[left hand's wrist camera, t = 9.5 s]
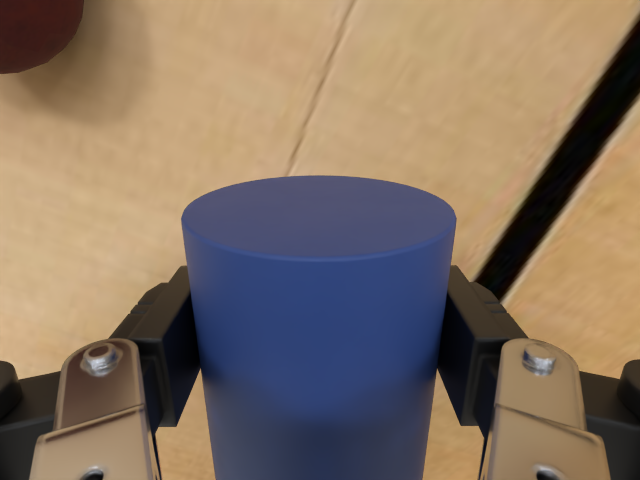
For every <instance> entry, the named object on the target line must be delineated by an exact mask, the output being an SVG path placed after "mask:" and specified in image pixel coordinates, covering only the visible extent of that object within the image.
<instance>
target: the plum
mask: <svg viewBox="0 0 640 480" xmlns="http://www.w3.org/2000/svg"><path fill="white" fill-rule="evenodd" d="M83 2H84V0H0V74H6V73H18V72H21V71H25V70H28V69H31V68H33V67H36V66H38V65H41V64H44V63H46V62H48V61H49V60H50V59H52V58H53V57H54V56H55V55H57V54H58V53H59V52H60V51H61V50H63V49H64V48H65V47H66V46H67V44H68V43H69V42H70V40H71V39H72V38H73V36H74V35H75V33H76V30H77V28H78V26H79V23H80V21H81V18H82V12H83Z"/></svg>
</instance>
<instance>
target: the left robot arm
mask: <svg viewBox="0 0 640 480" xmlns="http://www.w3.org/2000/svg"><path fill="white" fill-rule="evenodd" d="M200 368H201V365H200V358H199V350H198V343H197V335H196V328H195V320H194V313H193V305H192V298H191V290H190V283H189V275H188V268H187V266H181V267H180V268H179V269H178V270H177V272H176V273H175V274H174V276H173V277H172V278H171V280H170V281H169V282H168V283H160V284H159V285H157V286H155V287H154V288H152V289H151V290H149V291H147V292H146V293H145V294H144V296H143V297H142V298H141V299H140V301H139V302H138V305H135V307H134V308H133V309H132V310H131V313H130V314H128V315H127V316H126V318H125V319H124V320H123V321H122V323H121V324H120V325H119V326H118V328H117V329H116V330H115V331H114V332H113V334H112V335H111V336H110V337H109V339H106V340H101V341H97V342H94V343H91V344H89V345H86V346H84V347H82V348H80V349H79V350H77V351H76V352H74V353H73V354H71V355H70V356H69V357H68V358H67V359H66V360H65V362H64V363H63V365H62V368H61V371H59V372H54V373H50V374H45V375H40V376H35V377H30V378H25V379H20V380H18V377H17V374H16V371H15V368H14V366H13V365H12V364H10V363H8V362H5V361H0V480H163V478H162V471H161V465H160V458H159V451H158V445H157V440H156V435H155V433H156V431H157V429H158V427H176V426H177V424H178V421H179V419H180V417H181V414H182V412H183V409H184V407H185V404H186V402H187V400H188V397H189V395H190V392H191V390H192V388H193V385H194V383H195V380H196V378H197V375H198V373H199V371H200ZM437 368H438V371H439V373H440V376H441V378H442V381H443V383H444V386H445V388H446V391H447V393H448V396H449V398H450V401H451V403H452V405H453V408H454V410H455V413H456V415H457V418H458V420H459V423H460V425H461V426H479V428H480V430H481V432H482V435H483V437H484V440H483V445H482V451H481V458H480V465H479V471H478V478H477V480H640V360H632V361H629V362H628V363H626V364H625V366H624V368H623V371H622V374H621V377H620V379H616V378H611V377H606V376H601V375H596V374H591V373H586V372H582V371H579V369H578V365H577V363H576V362H575V360H574V359H573V358H572V357H571V356H570V355H569V354H567V353H566V352H564V351H563V350H561V349H560V348H558V347H556V346H554V345H551V344H549V343H546V342H543V341H539V340H534V339H529V338H528V337H527V336H526V334H525V333H524V332H523V331H522V329H521V328H520V327H519V326H518V324H517V323H516V322H515V321H514V319H513V318H512V317H511V316H510V314H509V313H507V311H506V309H505V308H504V307H503V306H502V305H501V304H499V301H498V300H497V298H496V297H495V296H494V295H493V293H492V292H491V291H489V290H488V289H486V288H485V287H483V286H481V285H480V284H478V283H476V282H469V281H468V280H467V279H466V277H465V276H464V275H463V273H462V272H461V270H460V269H459V268H458V267H457V266H456V265H451V266H450V273H449V281H448V288H447V296H446V304H445V311H444V319H443V326H442V334H441V342H440V349H439V357H438V364H437Z"/></svg>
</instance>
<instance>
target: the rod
mask: <svg viewBox="0 0 640 480" xmlns="http://www.w3.org/2000/svg"><path fill="white" fill-rule="evenodd" d="M181 222H182V230H183V238H184V245H185V253H186V260H187V268H188V275H189V283H190V290H191V298H192V305H193V313H194V320H195V328H196V335H197V343H198V350H199V358H200V365H201V373H202V380H203V388H204V395H205V403H206V410H207V418H208V425H209V433H210V440H211V448H212V455H213V463H214V470H215V478H216V480H422V478H423V470H424V463H425V455H426V448H427V440H428V432H429V425H430V417H431V410H432V402H433V395H434V387H435V379H436V372H437V364H438V357H439V349H440V342H441V334H442V326H443V319H444V311H445V304H446V296H447V288H448V281H449V273H450V266H451V258H452V251H453V243H454V235H455V228H456V215H455V213H454V210H453V209H452V208H451V206H450V205H449V204H448V203H446V202H445V201H444V200H442V199H440V198H439V197H437V196H435V195H433V194H430V193H428V192H426V191H423V190H420V189H417V188H414V187H410V186H407V185H403V184H398V183H394V182H389V181H383V180H376V179H369V178H359V177H347V176H291V177H279V178H269V179H262V180H255V181H249V182H244V183H240V184H235V185H231V186H227V187H224V188H221V189H218V190H215V191H212V192H210V193H207V194H205V195H203V196H201V197H199V198H197V199H196V200H194V201H193V202H192V203H190V204H189V205H188V206H187V207H186V208H185V210H184V212H183V215H182V218H181Z"/></svg>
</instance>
